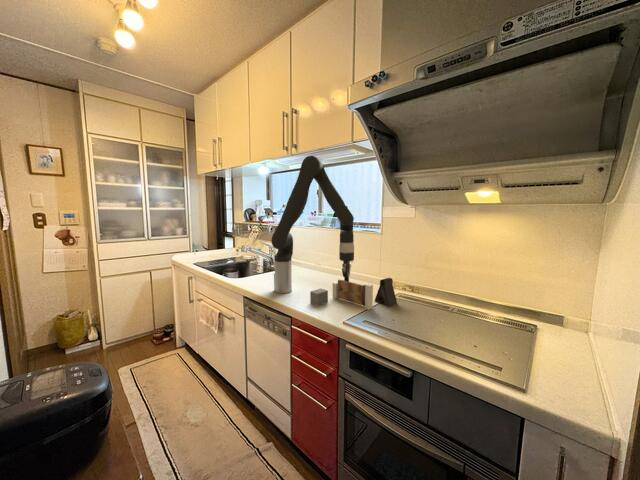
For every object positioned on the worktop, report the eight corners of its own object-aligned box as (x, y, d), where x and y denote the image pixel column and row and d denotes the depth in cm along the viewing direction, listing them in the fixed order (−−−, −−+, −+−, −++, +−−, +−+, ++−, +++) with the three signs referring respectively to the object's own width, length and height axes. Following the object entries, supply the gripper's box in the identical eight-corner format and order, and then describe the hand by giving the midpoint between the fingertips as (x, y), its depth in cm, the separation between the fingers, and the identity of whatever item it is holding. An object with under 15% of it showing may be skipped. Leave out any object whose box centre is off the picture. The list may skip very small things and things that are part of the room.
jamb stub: (332, 297, 132) (332, 282, 131) (335, 296, 134) (335, 281, 133) (336, 298, 131) (336, 283, 130) (339, 297, 132) (339, 282, 131)
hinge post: (364, 308, 118) (365, 285, 117) (368, 306, 120) (369, 283, 119) (368, 309, 117) (369, 286, 115) (372, 307, 119) (372, 284, 117)
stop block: (310, 303, 125) (310, 291, 124) (320, 299, 130) (320, 288, 129) (317, 306, 121) (317, 293, 120) (327, 302, 126) (327, 290, 125)
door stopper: (374, 301, 127) (375, 277, 126) (382, 298, 131) (383, 275, 130) (389, 306, 120) (390, 281, 119) (397, 304, 124) (398, 279, 122)
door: (336, 298, 130) (336, 279, 128) (339, 297, 131) (339, 278, 130) (363, 307, 118) (364, 286, 117) (366, 305, 120) (367, 285, 119)
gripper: (342, 248, 139) (342, 280, 141) (336, 252, 127) (336, 287, 129) (355, 249, 137) (355, 281, 139) (351, 253, 124) (351, 288, 126)
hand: (346, 283), depth 134 cm, fingers closed
